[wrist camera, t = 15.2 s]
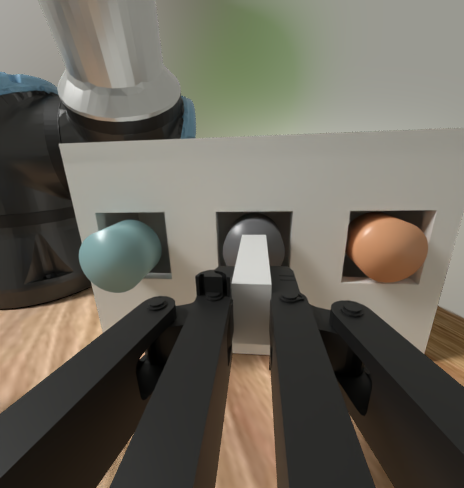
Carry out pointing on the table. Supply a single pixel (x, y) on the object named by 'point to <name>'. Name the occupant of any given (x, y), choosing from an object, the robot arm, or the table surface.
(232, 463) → the table surface
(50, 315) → the table surface
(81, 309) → the table surface
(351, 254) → the terracotta button
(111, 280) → the teal button
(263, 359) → the table surface
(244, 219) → the charcoal button
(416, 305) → the console
